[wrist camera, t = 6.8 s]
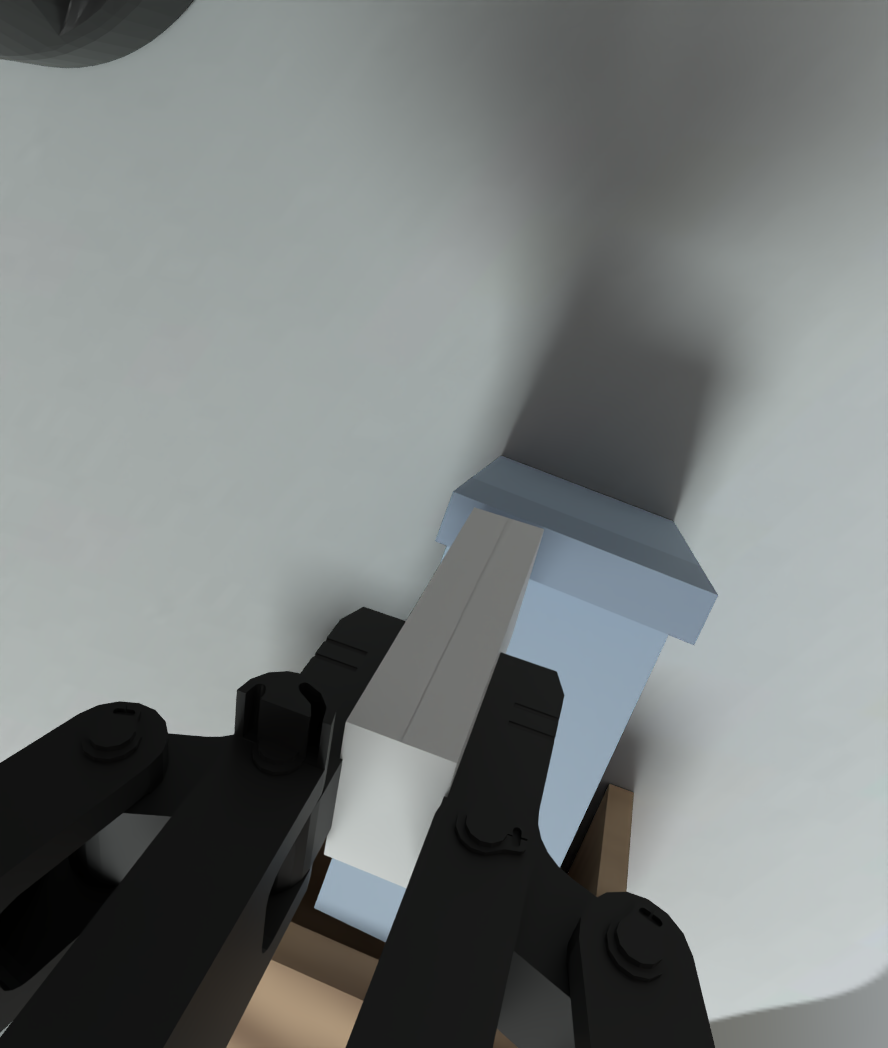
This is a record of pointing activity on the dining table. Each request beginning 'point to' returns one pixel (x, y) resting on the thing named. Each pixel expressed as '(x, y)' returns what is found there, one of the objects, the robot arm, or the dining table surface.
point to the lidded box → (567, 641)
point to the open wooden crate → (352, 955)
